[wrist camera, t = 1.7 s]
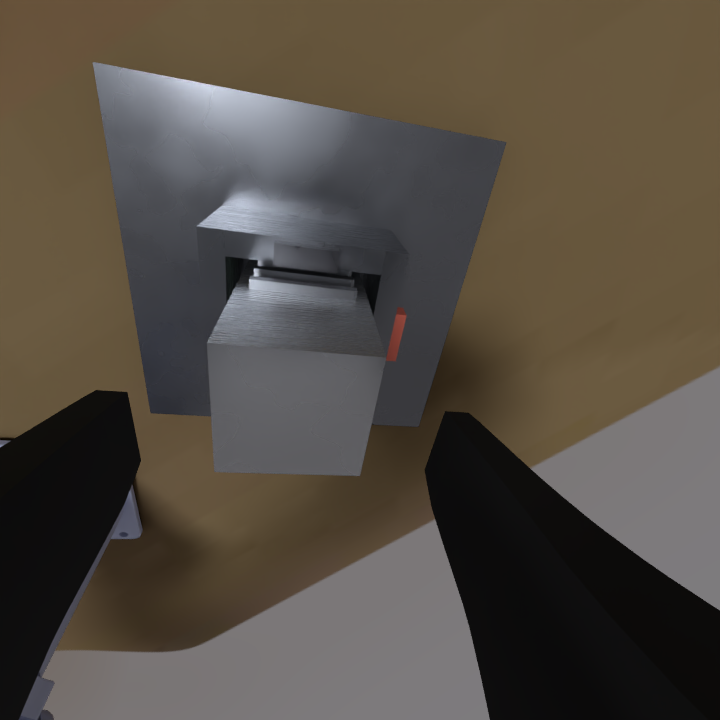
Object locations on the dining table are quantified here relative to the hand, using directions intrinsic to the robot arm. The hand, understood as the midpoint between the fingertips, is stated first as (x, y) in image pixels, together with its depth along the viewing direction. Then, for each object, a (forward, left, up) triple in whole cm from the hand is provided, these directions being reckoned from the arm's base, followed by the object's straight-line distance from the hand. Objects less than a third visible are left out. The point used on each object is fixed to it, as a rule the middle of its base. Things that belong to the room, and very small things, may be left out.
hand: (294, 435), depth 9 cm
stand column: (0, 0, -9) cm, 9 cm away
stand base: (0, 0, -10) cm, 10 cm away
